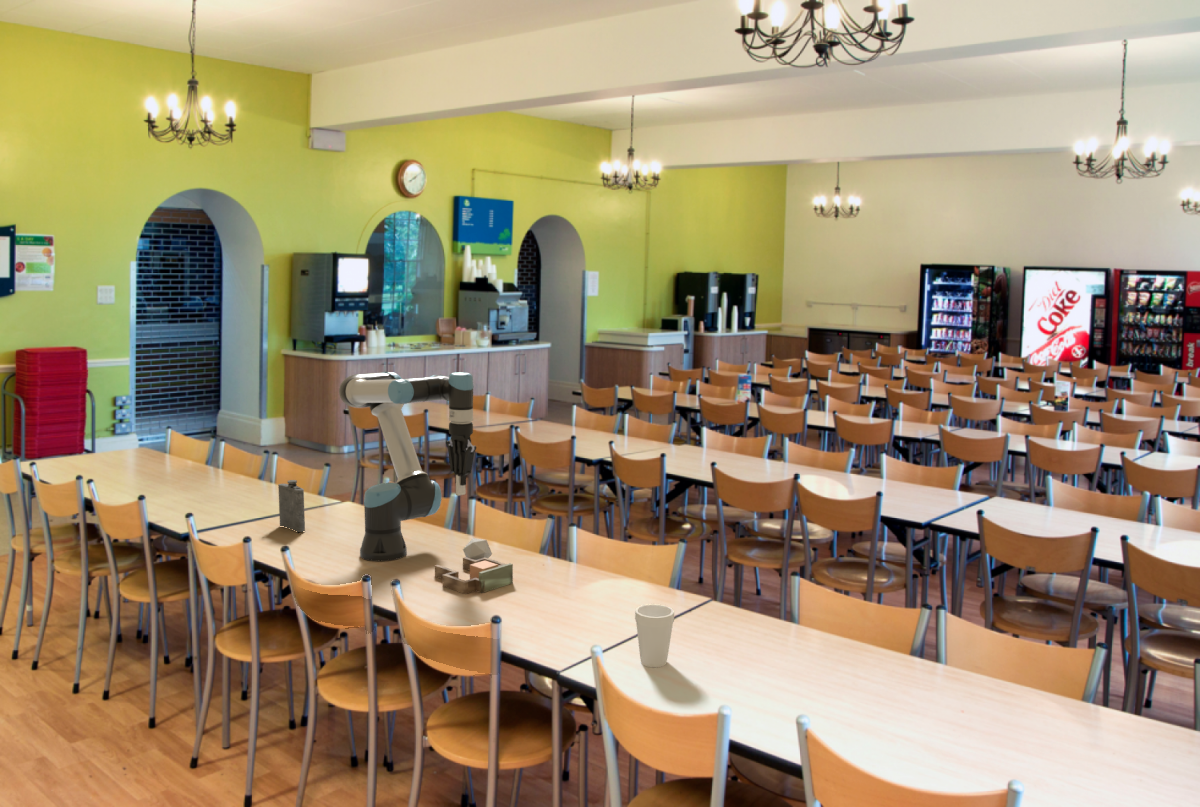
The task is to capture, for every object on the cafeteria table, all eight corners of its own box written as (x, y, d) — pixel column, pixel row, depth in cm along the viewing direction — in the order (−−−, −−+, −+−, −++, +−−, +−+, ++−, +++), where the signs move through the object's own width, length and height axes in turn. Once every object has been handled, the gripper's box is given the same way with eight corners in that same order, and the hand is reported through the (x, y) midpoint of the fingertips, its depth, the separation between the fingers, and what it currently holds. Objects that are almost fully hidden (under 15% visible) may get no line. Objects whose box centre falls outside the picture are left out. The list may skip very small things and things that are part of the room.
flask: (287, 524, 351) (285, 476, 348) (308, 531, 341) (307, 482, 339) (278, 526, 348) (276, 478, 346) (299, 533, 339) (297, 484, 336)
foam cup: (632, 654, 235) (633, 604, 233) (669, 653, 236) (670, 603, 234) (637, 670, 226) (638, 618, 224) (675, 669, 226) (676, 617, 225)
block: (469, 583, 287) (469, 564, 286) (484, 579, 291) (484, 560, 291) (483, 588, 283) (483, 569, 282) (498, 583, 288) (498, 564, 287)
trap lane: (424, 579, 290) (424, 560, 289) (475, 564, 305) (475, 546, 304) (471, 596, 276) (471, 576, 275) (522, 580, 291) (522, 561, 290)
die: (496, 563, 309) (487, 536, 313) (491, 557, 301) (482, 530, 305) (472, 572, 309) (464, 545, 312) (467, 567, 301) (458, 539, 304)
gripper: (438, 420, 300) (438, 492, 304) (464, 426, 291) (463, 500, 295) (457, 417, 306) (457, 488, 309) (483, 423, 297) (482, 496, 300)
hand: (460, 494), depth 302 cm, fingers closed
